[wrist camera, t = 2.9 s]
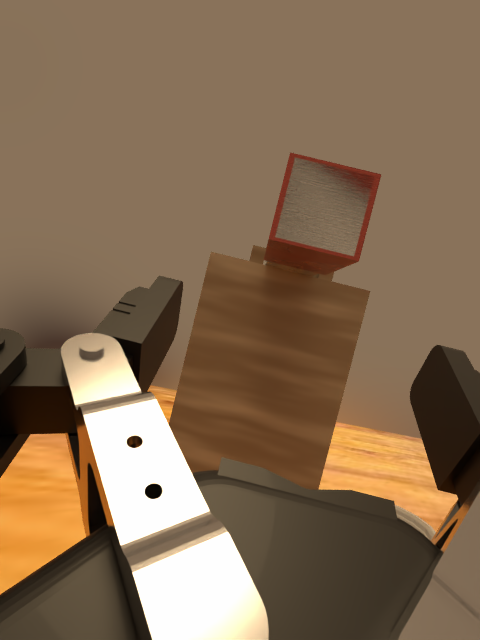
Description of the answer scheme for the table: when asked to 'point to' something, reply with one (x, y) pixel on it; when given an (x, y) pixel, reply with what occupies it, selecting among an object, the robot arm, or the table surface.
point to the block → (320, 216)
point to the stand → (266, 368)
